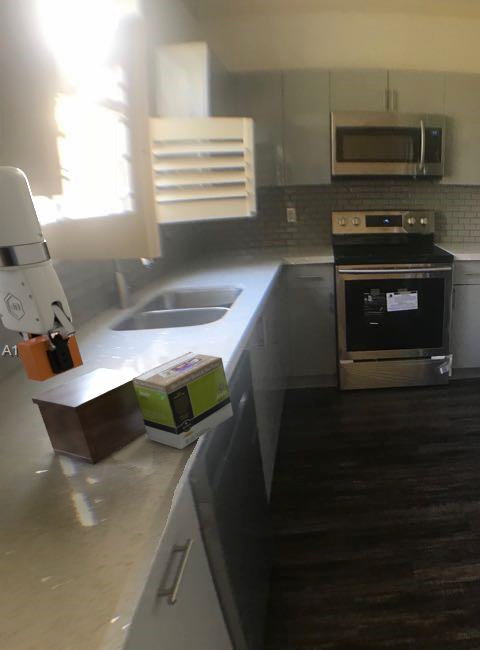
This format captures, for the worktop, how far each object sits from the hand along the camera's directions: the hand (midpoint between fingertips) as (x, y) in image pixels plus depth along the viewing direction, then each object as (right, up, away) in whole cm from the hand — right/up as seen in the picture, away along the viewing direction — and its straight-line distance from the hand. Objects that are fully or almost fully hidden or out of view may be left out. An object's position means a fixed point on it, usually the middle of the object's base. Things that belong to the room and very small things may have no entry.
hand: (55, 368), depth 75 cm
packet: (0, -1, 0) cm, 1 cm away
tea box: (+12, -14, +25) cm, 31 cm away
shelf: (-5, -16, +21) cm, 27 cm away
